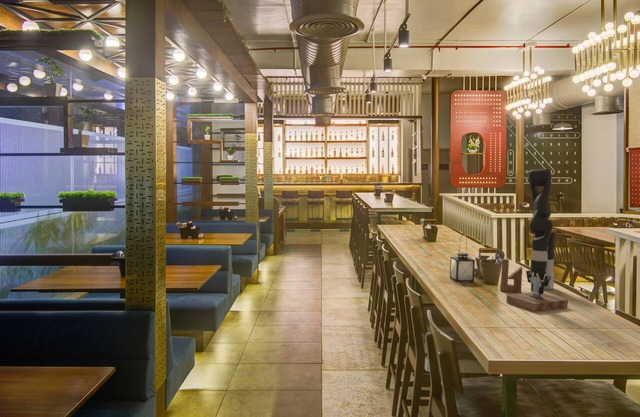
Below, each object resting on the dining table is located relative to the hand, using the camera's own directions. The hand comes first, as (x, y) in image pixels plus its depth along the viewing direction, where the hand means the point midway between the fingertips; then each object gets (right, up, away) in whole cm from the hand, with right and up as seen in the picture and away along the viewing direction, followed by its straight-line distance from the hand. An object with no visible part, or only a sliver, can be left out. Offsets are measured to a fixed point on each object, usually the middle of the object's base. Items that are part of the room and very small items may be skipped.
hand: (537, 292), depth 251 cm
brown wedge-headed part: (-2, -4, +29) cm, 29 cm away
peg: (0, -4, 0) cm, 4 cm away
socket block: (0, -6, 0) cm, 6 cm away
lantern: (-22, -2, +56) cm, 60 cm away
